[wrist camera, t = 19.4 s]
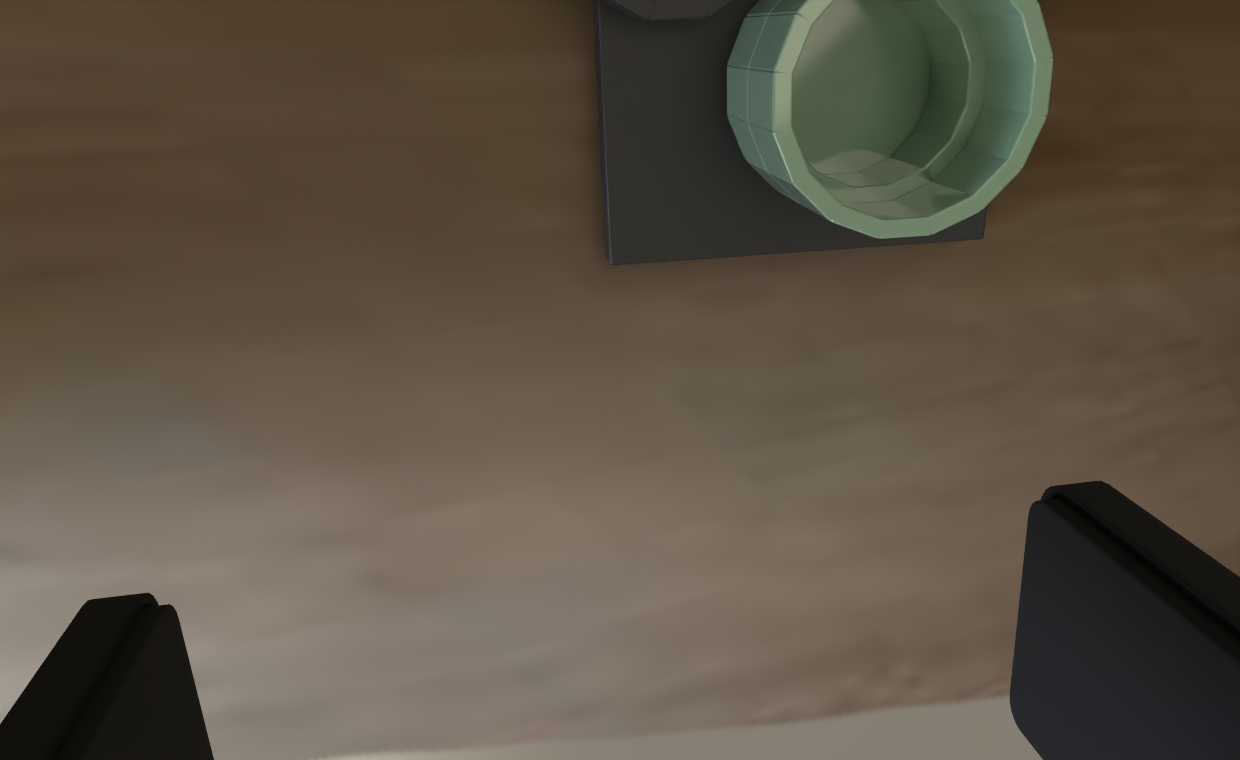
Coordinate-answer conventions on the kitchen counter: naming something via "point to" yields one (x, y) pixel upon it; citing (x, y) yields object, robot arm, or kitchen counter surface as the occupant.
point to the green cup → (890, 105)
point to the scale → (694, 145)
